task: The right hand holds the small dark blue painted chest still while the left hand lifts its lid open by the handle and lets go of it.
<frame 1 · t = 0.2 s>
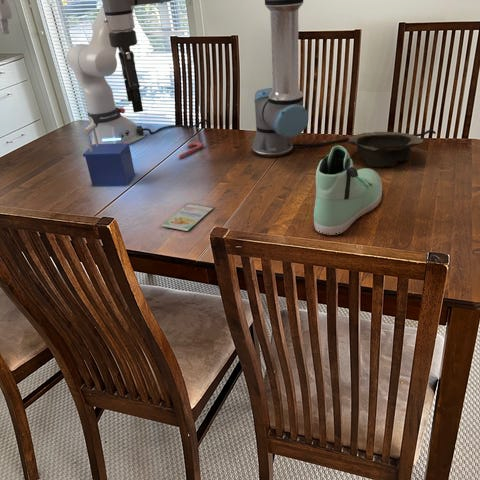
left hand: (0, 33, 160), 48 cm above the table, tool pointing down, fingers open, 8 cm apart
right hand: (135, 106, 146), 28 cm above the table, tool pointing down, fingers open, 13 cm apart
candy cane: (189, 152, 187), on the table
baking ingredient package: (188, 217, 141), on the table
sneaker: (348, 208, 139), on the table
lid: (103, 138, 161), point 15 cm above the table, hinge at 0.0°
chest: (114, 180, 169), on the table
stone bowl: (382, 158, 169), on the table
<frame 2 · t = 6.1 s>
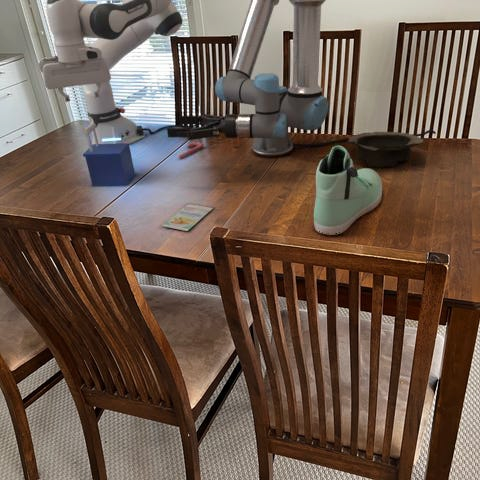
left hand: (82, 99, 155), 29 cm above the table, tool pointing down, fingers open, 8 cm apart
right hand: (173, 126, 157), 18 cm above the table, tool horizontal, fingers open, 13 cm apart
nothing on the table moved.
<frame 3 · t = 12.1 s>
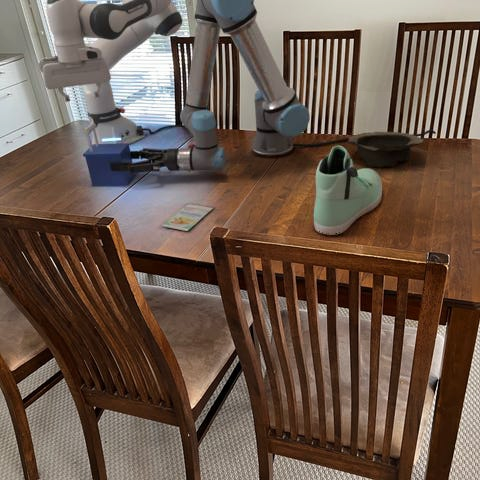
left hand: (82, 99, 155), 29 cm above the table, tool pointing down, fingers open, 8 cm apart
right hand: (116, 160, 165), 7 cm above the table, tool horizontal, fingers closed on chest, 9 cm apart
chest: (114, 180, 169), on the table, touching right hand
everything else where it was.
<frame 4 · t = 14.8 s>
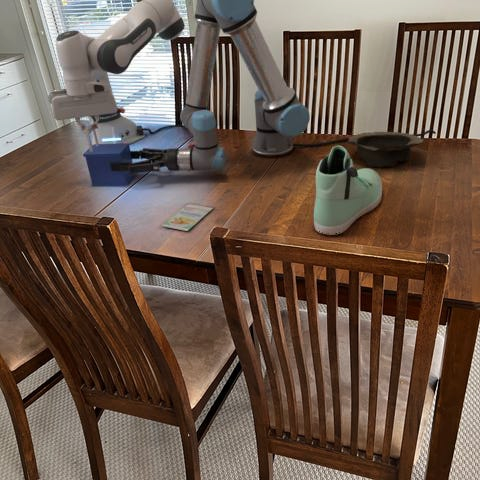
left hand: (90, 129, 160), 19 cm above the table, tool pointing down, fingers closed on lid, 3 cm apart
right hand: (116, 160, 165), 7 cm above the table, tool horizontal, fingers closed on chest, 9 cm apart
lid: (104, 138, 161), point 15 cm above the table, hinge at -0.1°, touching left hand
chest: (114, 180, 169), on the table, touching right hand
everything else where it was.
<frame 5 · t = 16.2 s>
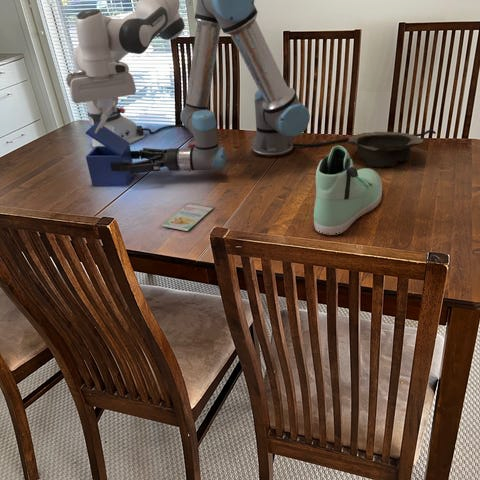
left hand: (107, 112, 156), 24 cm above the table, tool pointing down, fingers closed on lid, 3 cm apart
right hand: (116, 160, 164), 7 cm above the table, tool horizontal, fingers closed on chest, 9 cm apart
lid: (113, 129, 158), point 18 cm above the table, hinge at 37.5°, touching left hand
chest: (114, 179, 169), on the table, touching right hand
everything else where it was.
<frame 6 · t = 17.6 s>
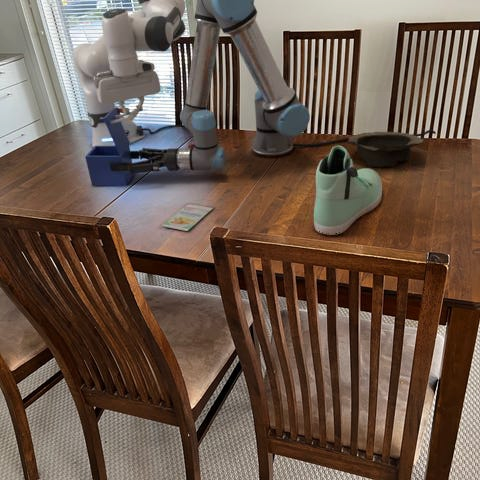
left hand: (133, 112, 154), 24 cm above the table, tool pointing down, fingers closed on lid, 3 cm apart
right hand: (115, 160, 164), 7 cm above the table, tool horizontal, fingers closed on chest, 9 cm apart
lid: (128, 129, 157), point 18 cm above the table, hinge at 76.6°, touching left hand
chest: (113, 179, 169), on the table, touching right hand
everything else where it was.
when the right hand's fingers open (7 cm above the table, at t = 21.8 s): chest stays where it is, on the table.
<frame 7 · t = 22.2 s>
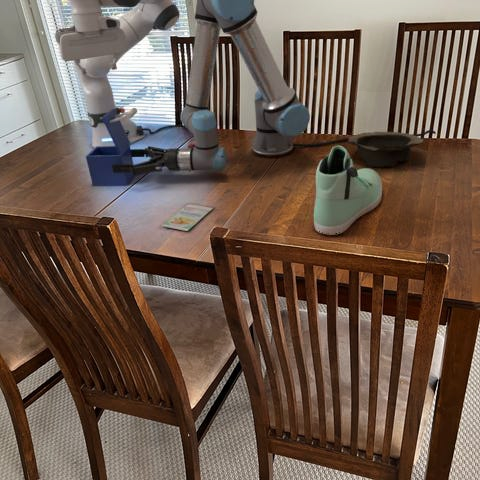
left hand: (99, 71, 149), 37 cm above the table, tool pointing down, fingers open, 8 cm apart
right hand: (119, 160, 165), 7 cm above the table, tool horizontal, fingers open, 13 cm apart
lid: (127, 128, 158), point 19 cm above the table, hinge at 75.3°
chest: (114, 179, 169), on the table
everything else where it was.
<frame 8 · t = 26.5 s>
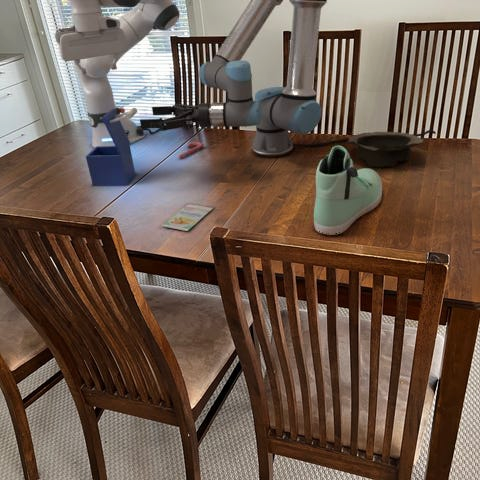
left hand: (99, 71, 149), 37 cm above the table, tool pointing down, fingers open, 8 cm apart
right hand: (146, 117, 155), 22 cm above the table, tool horizontal, fingers open, 13 cm apart
nothing on the table moved.
at the end: lid at +75° (first picture: +0°); the left hand is holding nothing; the right hand is holding nothing; chest tilted 0°; chest never tilted more than 3° during the clip; chest moved 0.3 cm from its start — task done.
